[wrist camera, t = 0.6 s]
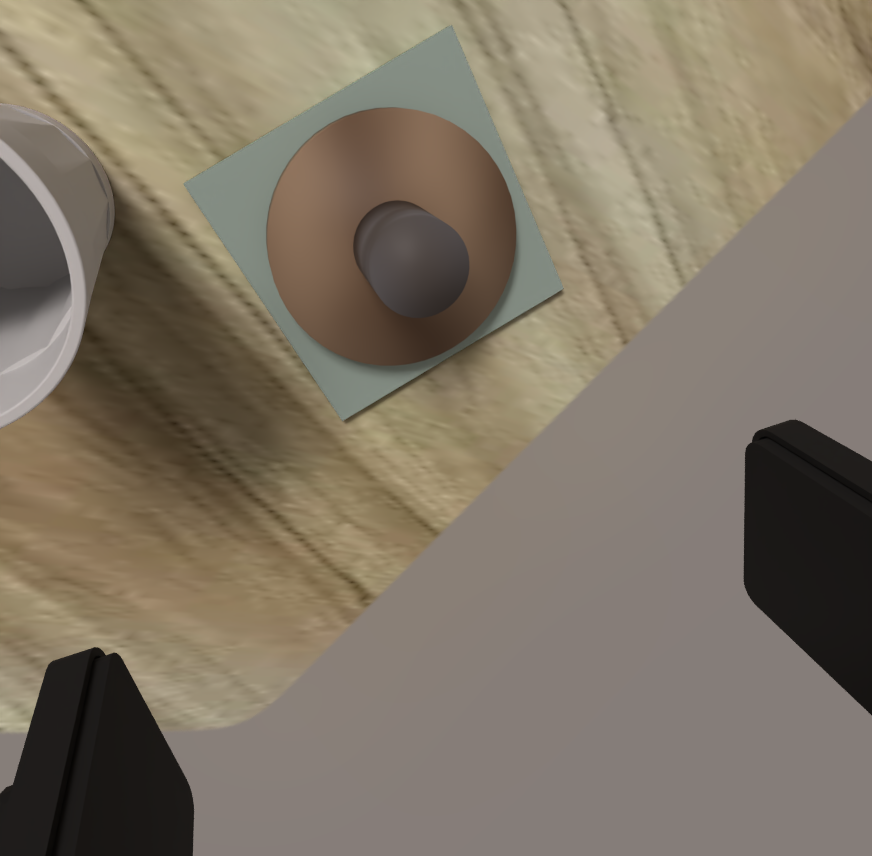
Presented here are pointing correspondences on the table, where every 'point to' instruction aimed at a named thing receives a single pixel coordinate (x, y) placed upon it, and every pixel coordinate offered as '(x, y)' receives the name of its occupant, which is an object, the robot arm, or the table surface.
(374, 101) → the mat
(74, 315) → the cup
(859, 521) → the robot arm
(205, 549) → the table surface
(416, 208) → the lid
